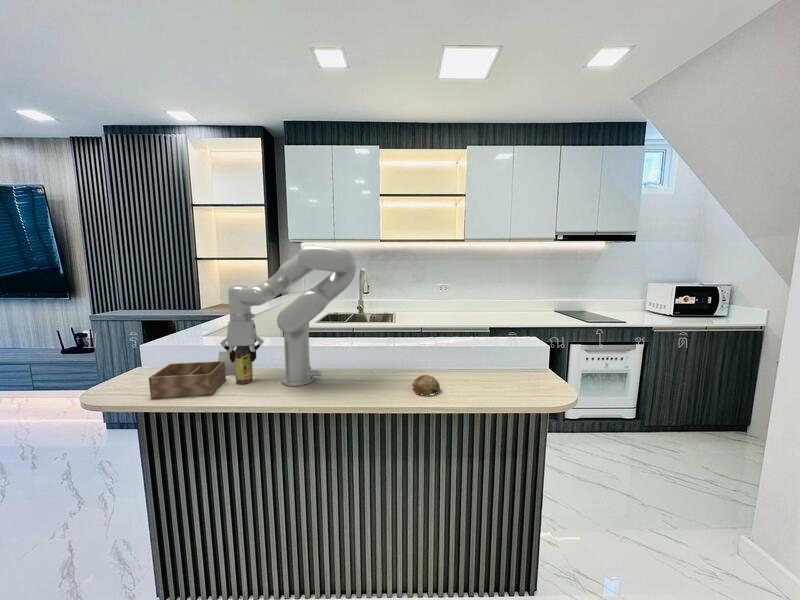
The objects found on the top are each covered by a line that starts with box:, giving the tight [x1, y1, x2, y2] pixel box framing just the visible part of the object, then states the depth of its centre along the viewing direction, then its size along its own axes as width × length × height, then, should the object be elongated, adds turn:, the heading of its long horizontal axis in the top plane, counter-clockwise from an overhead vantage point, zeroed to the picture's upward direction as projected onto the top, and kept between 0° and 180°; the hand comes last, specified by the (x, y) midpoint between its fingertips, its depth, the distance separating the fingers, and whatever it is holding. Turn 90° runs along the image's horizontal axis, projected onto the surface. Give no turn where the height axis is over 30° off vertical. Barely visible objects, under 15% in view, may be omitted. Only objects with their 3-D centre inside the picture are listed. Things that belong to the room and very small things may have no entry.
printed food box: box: [217, 350, 236, 376], centre depth 142 cm, size 4×7×10 cm, turn 94°
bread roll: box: [411, 374, 441, 395], centre depth 126 cm, size 10×10×8 cm
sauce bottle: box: [234, 346, 254, 385], centre depth 133 cm, size 7×6×20 cm
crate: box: [148, 360, 227, 400], centre depth 126 cm, size 20×15×8 cm
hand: (243, 360), depth 133 cm, fingers open, 6 cm apart
